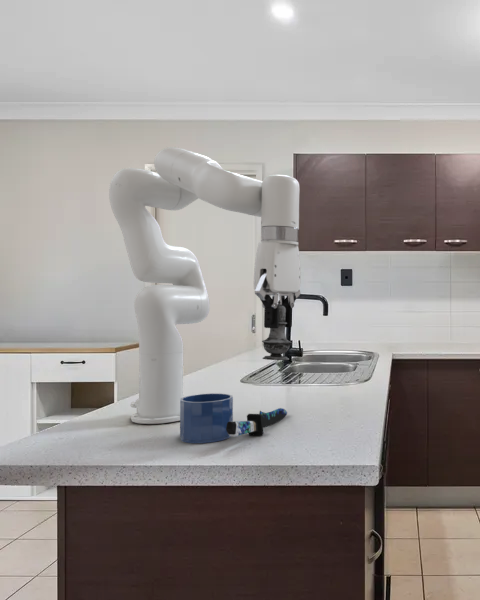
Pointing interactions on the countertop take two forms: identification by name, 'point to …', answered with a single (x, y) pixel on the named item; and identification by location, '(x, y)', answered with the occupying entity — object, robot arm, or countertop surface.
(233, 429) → the knife
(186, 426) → the blue cup
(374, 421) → the countertop surface
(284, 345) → the salt shaker
